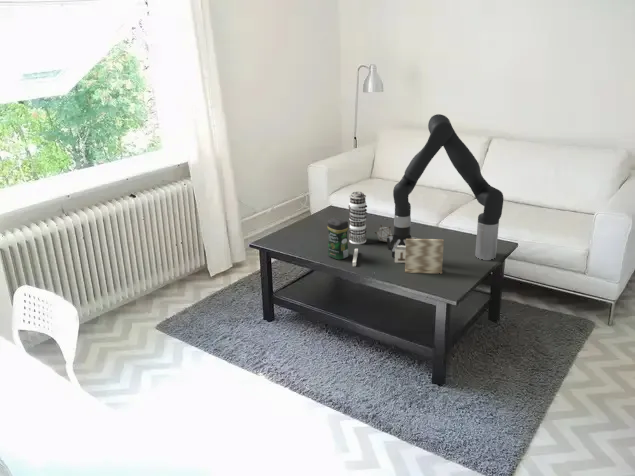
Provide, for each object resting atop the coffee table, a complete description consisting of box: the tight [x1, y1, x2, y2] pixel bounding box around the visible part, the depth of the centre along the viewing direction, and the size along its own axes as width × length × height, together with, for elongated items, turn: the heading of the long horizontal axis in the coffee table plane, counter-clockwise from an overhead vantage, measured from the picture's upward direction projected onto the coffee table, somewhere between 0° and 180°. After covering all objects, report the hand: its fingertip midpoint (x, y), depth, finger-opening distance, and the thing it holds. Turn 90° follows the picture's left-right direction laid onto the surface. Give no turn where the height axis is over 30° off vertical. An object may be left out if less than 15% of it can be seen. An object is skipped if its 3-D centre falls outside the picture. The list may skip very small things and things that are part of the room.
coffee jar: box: [327, 216, 350, 260], centre depth 279 cm, size 10×8×19 cm
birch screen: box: [404, 238, 445, 275], centre depth 262 cm, size 16×4×15 cm, turn 83°
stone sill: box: [352, 248, 359, 267], centre depth 279 cm, size 16×2×2 cm, turn 173°
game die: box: [374, 224, 394, 243], centre depth 297 cm, size 9×8×10 cm
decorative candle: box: [347, 191, 368, 245], centre depth 295 cm, size 9×9×25 cm
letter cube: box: [394, 245, 406, 264], centre depth 276 cm, size 6×6×6 cm
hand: (401, 258), depth 276 cm, fingers closed on letter cube, 6 cm apart
